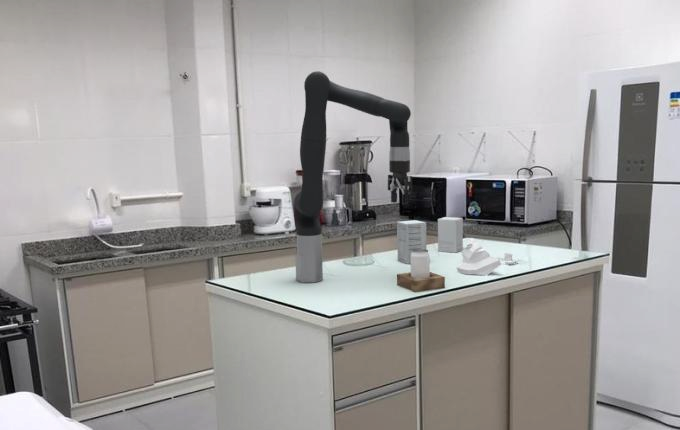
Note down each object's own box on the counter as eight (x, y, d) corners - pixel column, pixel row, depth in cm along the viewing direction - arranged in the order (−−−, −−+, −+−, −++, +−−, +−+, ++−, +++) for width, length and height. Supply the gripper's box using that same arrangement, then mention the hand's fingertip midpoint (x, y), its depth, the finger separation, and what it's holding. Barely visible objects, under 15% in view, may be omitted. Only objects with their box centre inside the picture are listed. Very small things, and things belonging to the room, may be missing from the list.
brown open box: (414, 292, 198) (414, 281, 198) (396, 284, 209) (396, 274, 209) (444, 287, 203) (444, 276, 203) (425, 280, 214) (425, 270, 214)
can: (429, 286, 202) (429, 252, 201) (410, 286, 204) (409, 252, 202) (430, 282, 209) (429, 248, 207) (411, 282, 210) (411, 248, 208)
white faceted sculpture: (474, 282, 217) (463, 245, 216) (455, 276, 231) (445, 242, 230) (502, 270, 220) (492, 234, 219) (482, 266, 235) (472, 232, 233)
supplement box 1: (427, 262, 246) (427, 222, 244) (407, 264, 243) (407, 223, 241) (416, 258, 255) (415, 219, 253) (396, 260, 251) (396, 221, 249)
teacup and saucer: (513, 266, 236) (513, 256, 235) (494, 264, 241) (494, 254, 240) (521, 262, 243) (521, 253, 242) (502, 260, 248) (502, 251, 247)
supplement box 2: (463, 249, 272) (463, 217, 271) (456, 253, 265) (456, 219, 263) (444, 248, 277) (444, 216, 275) (437, 251, 270) (437, 218, 268)
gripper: (381, 159, 222) (381, 202, 224) (400, 160, 209) (400, 205, 211) (399, 158, 225) (399, 201, 226) (418, 159, 212) (418, 204, 214)
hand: (399, 203), depth 219 cm, fingers open, 8 cm apart
